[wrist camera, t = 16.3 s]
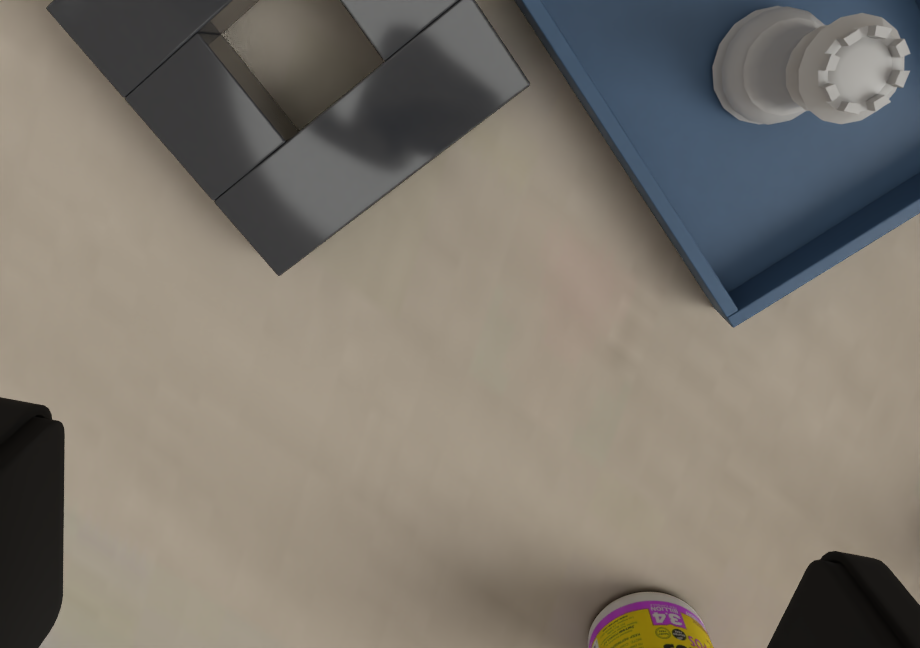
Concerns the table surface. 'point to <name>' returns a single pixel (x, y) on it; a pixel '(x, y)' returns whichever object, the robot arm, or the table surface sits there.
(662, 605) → the supplement bottle
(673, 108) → the basin tray
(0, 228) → the table surface
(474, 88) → the square hole block
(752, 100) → the rook chess piece
